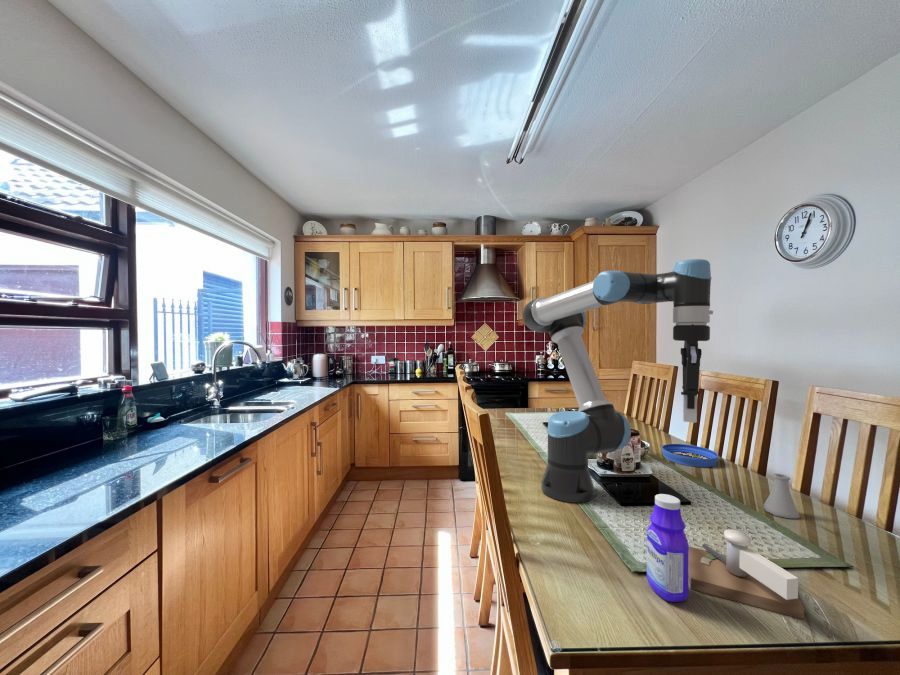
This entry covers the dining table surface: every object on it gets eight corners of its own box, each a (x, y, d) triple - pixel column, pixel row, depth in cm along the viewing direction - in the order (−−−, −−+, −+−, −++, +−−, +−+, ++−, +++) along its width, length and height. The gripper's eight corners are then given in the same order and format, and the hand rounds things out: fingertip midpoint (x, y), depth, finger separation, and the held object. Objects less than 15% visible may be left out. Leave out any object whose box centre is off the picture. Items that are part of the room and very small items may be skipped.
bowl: (730, 468, 132) (730, 458, 132) (679, 468, 132) (679, 458, 132) (697, 452, 150) (697, 443, 150) (652, 451, 150) (652, 443, 150)
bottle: (640, 579, 72) (641, 490, 72) (667, 577, 73) (669, 489, 73) (664, 606, 65) (666, 508, 65) (695, 604, 66) (696, 507, 65)
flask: (806, 521, 95) (807, 482, 95) (773, 518, 96) (774, 479, 96) (787, 508, 102) (788, 471, 102) (757, 505, 103) (758, 469, 103)
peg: (695, 549, 78) (695, 516, 78) (711, 547, 79) (712, 514, 79) (781, 611, 61) (782, 569, 61) (802, 608, 62) (803, 566, 62)
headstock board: (690, 588, 70) (690, 577, 70) (684, 554, 80) (684, 544, 80) (803, 619, 62) (803, 606, 62) (779, 577, 73) (780, 566, 73)
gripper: (714, 323, 83) (713, 429, 83) (705, 324, 94) (704, 417, 95) (675, 324, 86) (673, 425, 86) (671, 325, 98) (669, 414, 98)
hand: (689, 421), depth 90 cm, fingers closed
